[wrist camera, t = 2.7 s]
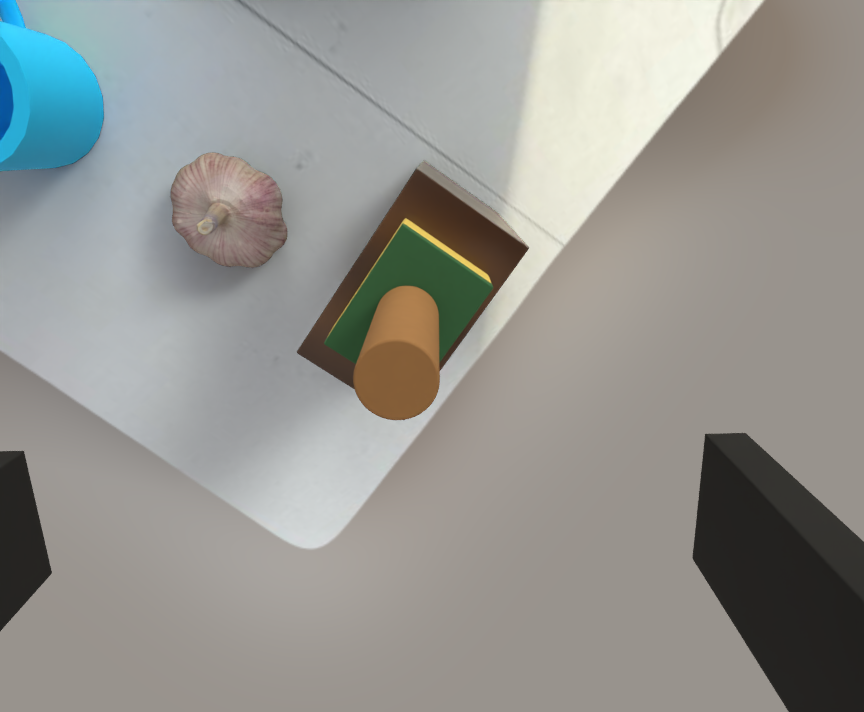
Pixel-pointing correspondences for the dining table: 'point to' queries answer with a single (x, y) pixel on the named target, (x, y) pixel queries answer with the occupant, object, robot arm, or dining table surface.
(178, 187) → the garlic bulb
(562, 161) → the dining table surface
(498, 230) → the stand
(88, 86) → the mug
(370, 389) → the sponge
